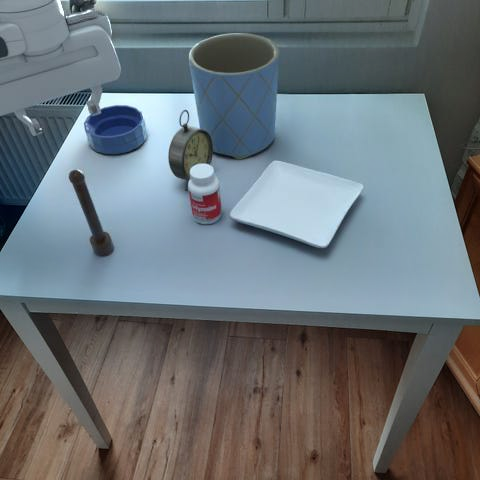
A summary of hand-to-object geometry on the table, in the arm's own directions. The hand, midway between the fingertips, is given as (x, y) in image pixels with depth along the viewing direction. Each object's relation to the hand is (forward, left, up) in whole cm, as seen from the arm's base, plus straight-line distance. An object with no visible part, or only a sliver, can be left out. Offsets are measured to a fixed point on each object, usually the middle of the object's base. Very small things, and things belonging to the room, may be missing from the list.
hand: (66, 123), depth 73 cm
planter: (+35, +28, -27) cm, 52 cm away
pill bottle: (+21, +3, -27) cm, 34 cm away
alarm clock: (+21, +16, -27) cm, 37 cm away
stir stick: (-1, 0, -26) cm, 27 cm away
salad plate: (+39, -2, -27) cm, 47 cm away
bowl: (+7, +38, -26) cm, 47 cm away
